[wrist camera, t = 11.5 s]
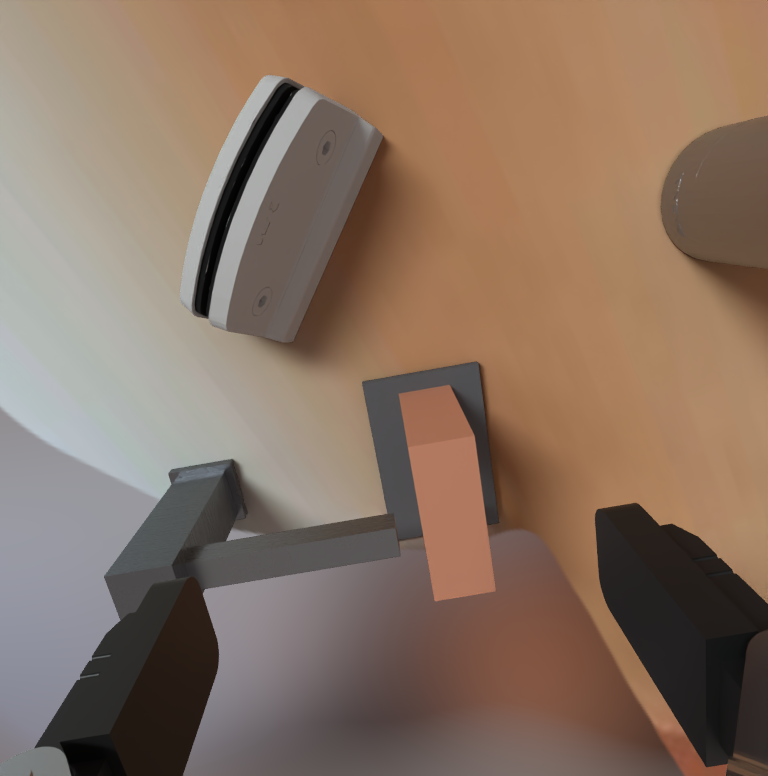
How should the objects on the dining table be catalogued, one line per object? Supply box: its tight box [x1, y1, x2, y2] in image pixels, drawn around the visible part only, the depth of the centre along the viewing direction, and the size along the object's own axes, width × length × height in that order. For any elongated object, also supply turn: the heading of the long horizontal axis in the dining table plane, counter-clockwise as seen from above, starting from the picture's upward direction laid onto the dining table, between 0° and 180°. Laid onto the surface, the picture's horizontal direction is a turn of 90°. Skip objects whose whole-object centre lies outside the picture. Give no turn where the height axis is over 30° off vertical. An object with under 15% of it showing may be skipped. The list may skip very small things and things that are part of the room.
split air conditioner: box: [180, 75, 383, 343], centre depth 36 cm, size 17×5×10 cm, turn 154°
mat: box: [362, 362, 499, 540], centre depth 45 cm, size 9×14×1 cm, turn 10°
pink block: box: [399, 385, 496, 601], centre depth 40 cm, size 4×11×10 cm, turn 10°
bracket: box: [104, 459, 400, 620], centre depth 39 cm, size 18×5×14 cm, turn 100°
